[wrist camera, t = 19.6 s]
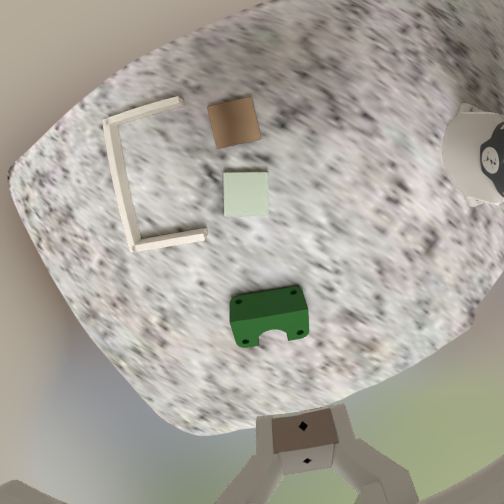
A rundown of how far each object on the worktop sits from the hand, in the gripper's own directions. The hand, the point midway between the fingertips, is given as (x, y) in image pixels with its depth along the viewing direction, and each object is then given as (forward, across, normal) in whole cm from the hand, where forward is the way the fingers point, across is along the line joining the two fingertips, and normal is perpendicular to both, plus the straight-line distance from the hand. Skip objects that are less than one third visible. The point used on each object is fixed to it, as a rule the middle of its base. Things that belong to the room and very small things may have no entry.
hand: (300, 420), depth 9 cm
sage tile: (+35, +2, -3) cm, 35 cm away
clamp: (+35, 0, +15) cm, 38 cm away
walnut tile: (+35, +2, -13) cm, 37 cm away
